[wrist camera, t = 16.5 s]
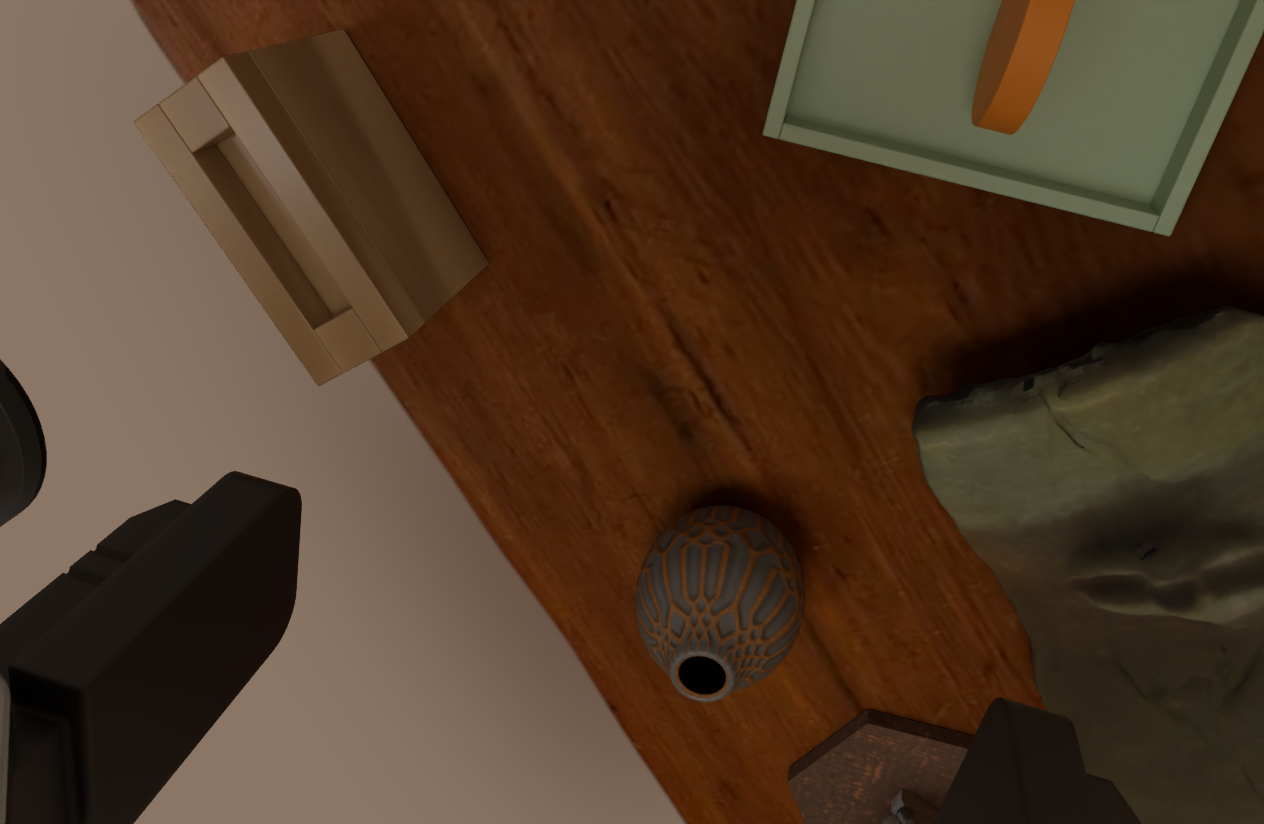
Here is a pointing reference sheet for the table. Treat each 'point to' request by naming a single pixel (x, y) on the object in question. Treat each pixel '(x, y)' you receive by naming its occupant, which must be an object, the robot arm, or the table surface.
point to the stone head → (1130, 550)
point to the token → (1018, 61)
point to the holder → (316, 197)
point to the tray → (1062, 116)
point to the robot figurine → (878, 772)
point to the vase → (719, 600)
